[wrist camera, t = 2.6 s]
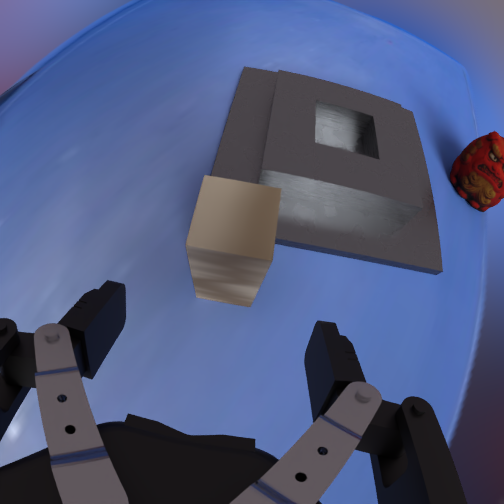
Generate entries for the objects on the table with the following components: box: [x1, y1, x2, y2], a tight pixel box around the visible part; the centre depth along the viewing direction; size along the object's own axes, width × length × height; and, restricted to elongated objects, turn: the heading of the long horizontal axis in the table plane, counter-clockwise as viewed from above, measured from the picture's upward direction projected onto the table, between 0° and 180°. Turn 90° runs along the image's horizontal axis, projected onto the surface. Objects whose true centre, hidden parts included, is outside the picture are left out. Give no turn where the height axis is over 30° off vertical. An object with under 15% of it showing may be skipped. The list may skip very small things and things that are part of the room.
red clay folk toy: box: [450, 131, 504, 212], centre depth 24 cm, size 8×7×15 cm
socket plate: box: [211, 67, 443, 275], centre depth 28 cm, size 22×22×4 cm
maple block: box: [186, 175, 281, 307], centre depth 19 cm, size 4×4×10 cm
